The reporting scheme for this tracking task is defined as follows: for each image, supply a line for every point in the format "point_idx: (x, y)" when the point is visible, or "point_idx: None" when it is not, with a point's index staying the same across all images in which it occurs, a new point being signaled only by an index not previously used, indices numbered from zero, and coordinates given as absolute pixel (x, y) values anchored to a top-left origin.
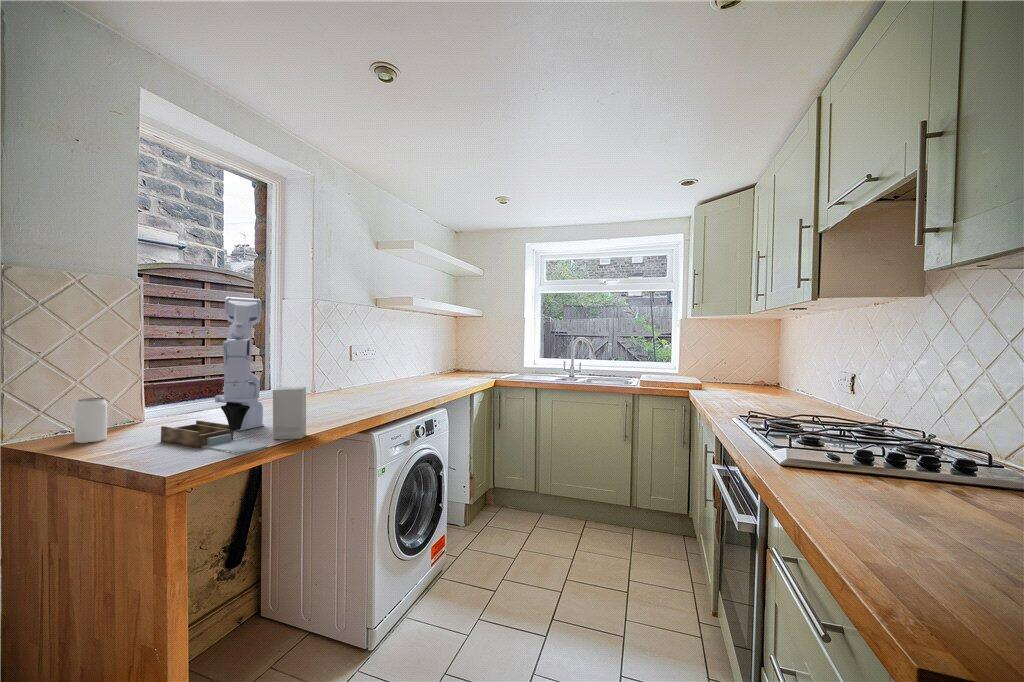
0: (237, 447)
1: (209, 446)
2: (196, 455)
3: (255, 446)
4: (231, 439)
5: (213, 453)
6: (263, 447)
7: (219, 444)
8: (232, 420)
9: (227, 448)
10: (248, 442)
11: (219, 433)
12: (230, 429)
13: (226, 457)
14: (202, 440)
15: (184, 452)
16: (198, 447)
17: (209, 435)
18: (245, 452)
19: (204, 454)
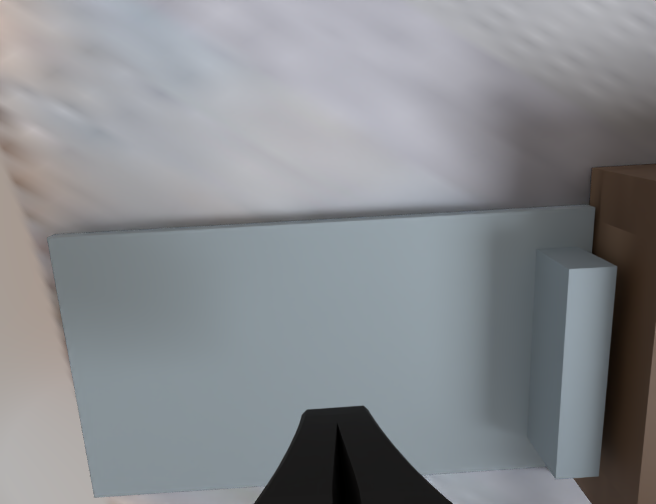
0: (250, 336)
1: (508, 229)
2: (352, 12)
3: (152, 433)
4: None
5: (287, 137)
6: (91, 458)
7: (496, 316)
8: (280, 482)
9: (294, 272)
10: None
11: (633, 409)
12: (353, 408)
13: (44, 115)
14: (627, 224)
15: (559, 17)
16: (593, 175)
17: (643, 306)
18: (64, 294)
19: (323, 73)
